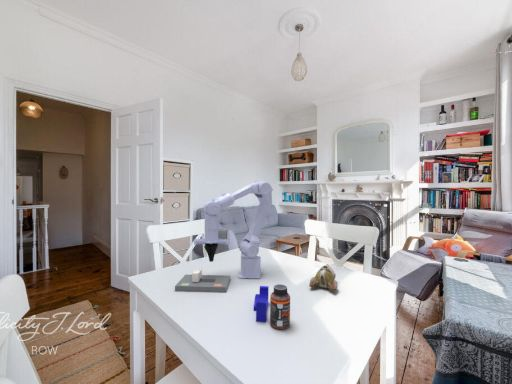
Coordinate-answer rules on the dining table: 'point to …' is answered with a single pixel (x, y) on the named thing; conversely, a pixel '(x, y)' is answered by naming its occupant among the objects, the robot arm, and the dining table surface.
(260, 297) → the blue stepped block
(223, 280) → the switch panel
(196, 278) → the knob
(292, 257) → the dining table surface
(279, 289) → the supplement bottle
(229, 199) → the robot arm
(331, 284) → the ceramic sculpture
